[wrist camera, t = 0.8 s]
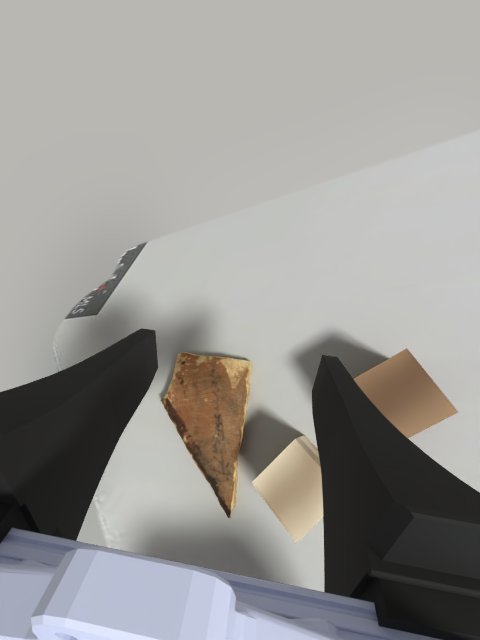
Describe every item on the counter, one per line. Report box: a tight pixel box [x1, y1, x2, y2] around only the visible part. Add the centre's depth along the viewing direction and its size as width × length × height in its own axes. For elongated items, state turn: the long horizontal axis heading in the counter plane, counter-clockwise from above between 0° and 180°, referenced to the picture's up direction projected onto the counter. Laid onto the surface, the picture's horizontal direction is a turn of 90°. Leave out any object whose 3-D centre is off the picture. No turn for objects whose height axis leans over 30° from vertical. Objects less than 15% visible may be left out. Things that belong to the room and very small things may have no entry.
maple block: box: [252, 435, 323, 543], centre depth 22 cm, size 4×4×4 cm
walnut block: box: [354, 349, 458, 438], centre depth 21 cm, size 4×4×6 cm
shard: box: [161, 352, 252, 518], centre depth 28 cm, size 13×9×2 cm
